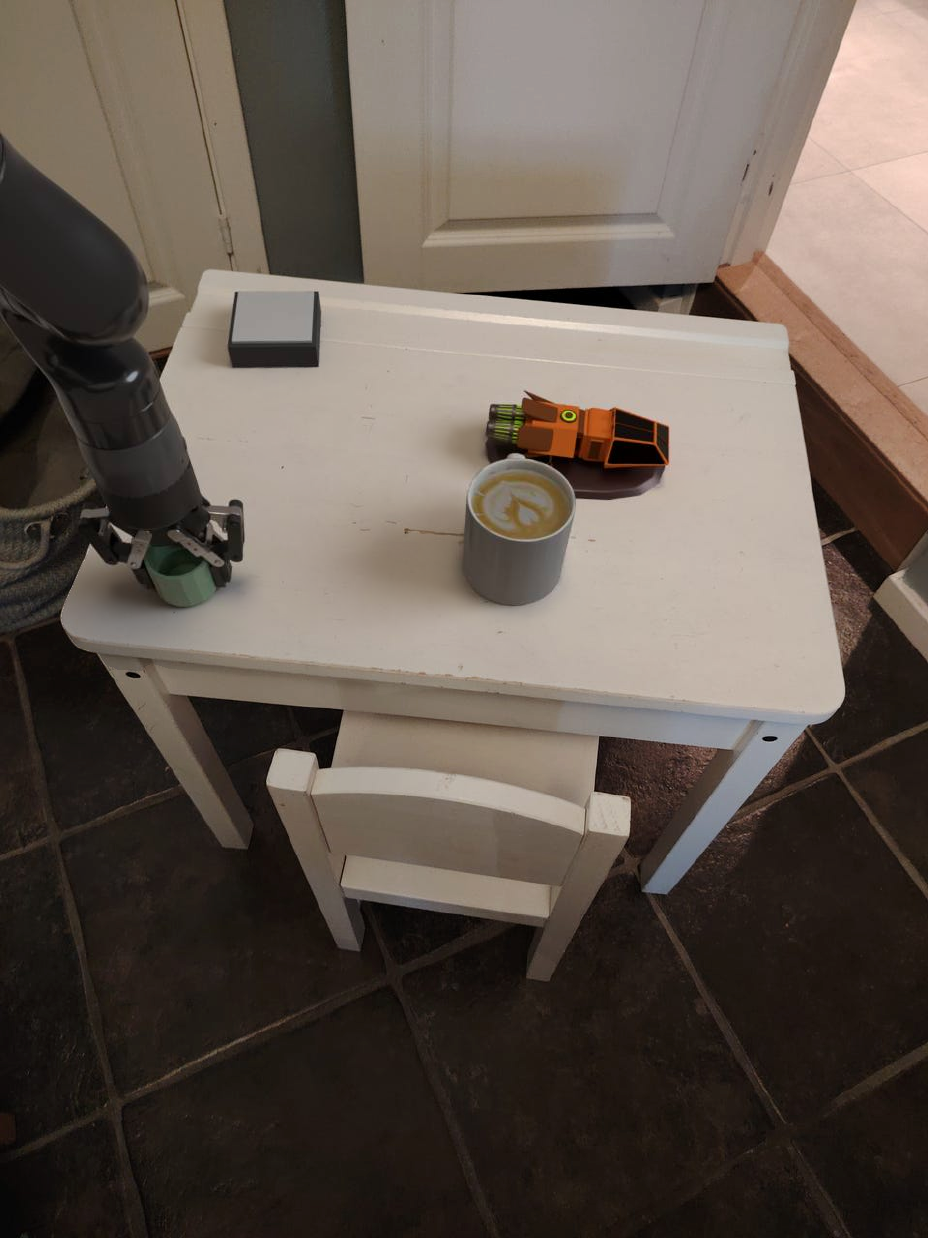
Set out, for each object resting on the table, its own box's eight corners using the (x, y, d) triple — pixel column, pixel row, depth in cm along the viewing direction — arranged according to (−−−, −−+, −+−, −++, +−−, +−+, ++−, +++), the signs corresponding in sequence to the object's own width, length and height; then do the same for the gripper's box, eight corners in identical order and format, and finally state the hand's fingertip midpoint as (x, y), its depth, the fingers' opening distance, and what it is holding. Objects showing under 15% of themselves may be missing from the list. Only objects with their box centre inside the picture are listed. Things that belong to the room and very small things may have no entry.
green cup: (154, 610, 79) (139, 579, 75) (162, 560, 82) (148, 528, 78) (217, 608, 79) (206, 578, 75) (223, 558, 83) (212, 526, 78)
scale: (232, 367, 97) (226, 343, 95) (239, 312, 103) (234, 288, 100) (318, 366, 98) (315, 343, 95) (321, 312, 103) (318, 288, 101)
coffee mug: (553, 614, 81) (569, 551, 72) (453, 595, 81) (456, 530, 73) (571, 510, 88) (587, 441, 79) (478, 493, 89) (484, 424, 80)
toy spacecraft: (665, 510, 88) (681, 467, 83) (478, 485, 89) (481, 441, 84) (665, 426, 95) (680, 382, 90) (491, 404, 96) (496, 359, 90)
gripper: (34, 496, 64) (105, 616, 78) (226, 492, 65) (261, 611, 79) (54, 426, 68) (118, 551, 82) (234, 423, 69) (266, 548, 83)
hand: (188, 580), depth 80 cm, fingers closed on green cup, 6 cm apart
